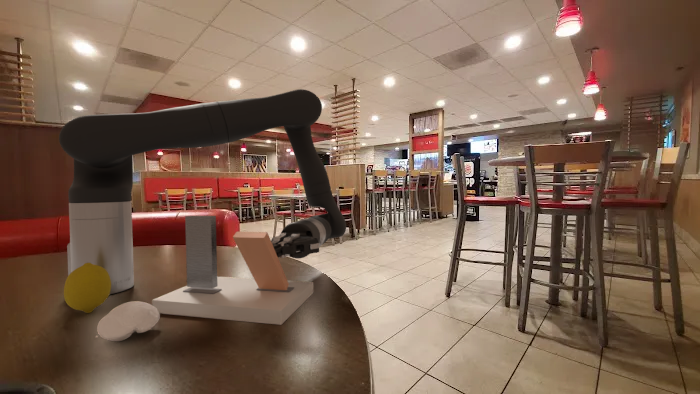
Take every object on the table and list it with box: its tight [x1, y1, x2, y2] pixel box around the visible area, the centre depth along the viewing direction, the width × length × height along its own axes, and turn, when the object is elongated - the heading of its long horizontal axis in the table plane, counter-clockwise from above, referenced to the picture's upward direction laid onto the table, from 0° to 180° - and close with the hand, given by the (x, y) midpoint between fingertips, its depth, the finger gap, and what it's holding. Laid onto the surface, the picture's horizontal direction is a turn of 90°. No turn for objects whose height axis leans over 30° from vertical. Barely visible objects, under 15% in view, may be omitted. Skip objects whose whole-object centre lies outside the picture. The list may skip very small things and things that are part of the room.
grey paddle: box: [184, 215, 218, 288], centre depth 49 cm, size 5×1×12 cm, turn 77°
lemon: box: [63, 263, 111, 314], centre depth 45 cm, size 6×6×8 cm
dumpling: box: [95, 300, 161, 342], centre depth 38 cm, size 7×5×4 cm
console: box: [151, 275, 314, 326], centre depth 49 cm, size 22×13×2 cm, turn 77°
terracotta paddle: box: [232, 231, 289, 290], centre depth 45 cm, size 5×1×12 cm
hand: (264, 255), depth 46 cm, fingers closed
